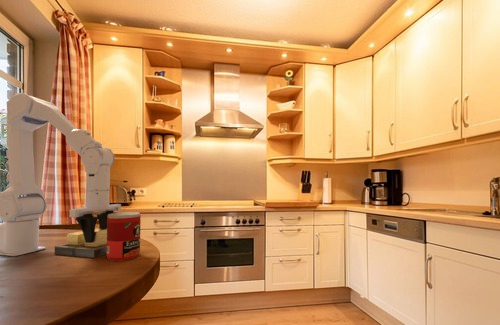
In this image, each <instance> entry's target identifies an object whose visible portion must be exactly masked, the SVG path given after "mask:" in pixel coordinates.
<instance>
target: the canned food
mask: <svg viewBox="0 0 500 325" xmlns="http://www.w3.org/2000/svg"><path fill="white" fill-rule="evenodd" d="M141 221H142V220H141V212H139V211H137V212H136V211H122V212H121V211H119V212H117V213H112V214H109V215H108V217H107V254H106V257H107V260H108V261H111V262H123V261H124V262H125V261H129V260H130V261H131V260H133V259H136V258H137V257H139V256H140V253H141V223H142V222H141Z"/></svg>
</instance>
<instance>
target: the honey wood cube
mask: <svg viewBox="0 0 500 325" xmlns="http://www.w3.org/2000/svg"><path fill="white" fill-rule="evenodd" d="M106 245H107V229H100V228H95V235H94V241H93V243H86V242H85V248H94V249H96V248H99V247H103V246H106Z"/></svg>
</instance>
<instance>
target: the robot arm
mask: <svg viewBox="0 0 500 325" xmlns="http://www.w3.org/2000/svg"><path fill="white" fill-rule="evenodd" d="M6 114H7V117H6V118H7V123H6V137H7V153H8V154H7V156H8V158H7V159H8V173H9V187H8V188H6V189H4V190H3V191H1V193H0V219H1V220H2V223H1V224H0V256H9V257H17V256H22V255H25V254H30V253H33V252H39V251H42V250H45V249H47V247H46V246H40V245H39V236H40V232H39V231H40V218H42V216H43V214H44V213H45V212H46V210H47V208H48V202H47V199H46V198H45V196H44V190H43V189H42V188H40V187H39V186H38V185H37V184H36V173H35V172H36V171H35V157H34V144H33V132H34V131H36V130H37V129H40V128H42V127H43V126H46V125H47V124H49V123H50V125H52V126H53V127H54V128H55V129H57V131H59V132H60V133H62V134H63V135H64V136H65V137H66V138H65V142H66V144H67V145H68V146H69V147H70V149H71V148H72V150H73V151H74V152H75V153H77V154H78V155H79V156H80V161H81V163H82V165H83V166H84V172H85V174H86V176H85V178H86V179H85V202H84V203H85V206H84V207H78V208H70V209H69V218H75V221H77V223H78V225H79V227H80V229H81V231H82V232H83V235H84V238H85V242H86V243H93V241H94V235H95V229H96V225H97V222H98V227H99V228H100V229H107V217H108V215H109V214H112V213H118V212H121V210H122V204H121V203H115V204H113V203H112V204H110V192H111V190H110V188H111V167H112V166H113V165H114V163H115V160H116V156H115V153H114V152H113V151H112V149H110V148H107V147H106V148H105V147H103V144H102V143H101V142H99V141H97V140H96V139H95V138H94V137H92V136H91V134H92V133H91V132H90V131H89V130H87V129H82V128H79V129H78V128H77V127H76V126H75V125H74V124H73V122H71V121H70V120H69V119H68V118H67V116H65V115H64V114H63V113H62V111H61V109H60V108H59V107H58V106H56V105H55V104H54V103H53V102H50V101H46V100H43V99H40V98H38V97H34V96H33V95H28V94H27V93H25V92H18V93H15V94H13V96H11V97H10V99H8V101H6ZM94 215H96V216H94Z"/></svg>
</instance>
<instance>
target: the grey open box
mask: <svg viewBox="0 0 500 325" xmlns="http://www.w3.org/2000/svg"><path fill="white" fill-rule="evenodd" d="M54 255H61V256H70V257H80V258H89V259H96V258H99V257H102V256H105V255H107V245H106V246H103V247H99V248H96V249H94V248H85V238H84V235H83V232H82V230H80V231H75V232H70V233H66V243H63V244H59V245H56V246H54Z"/></svg>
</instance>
